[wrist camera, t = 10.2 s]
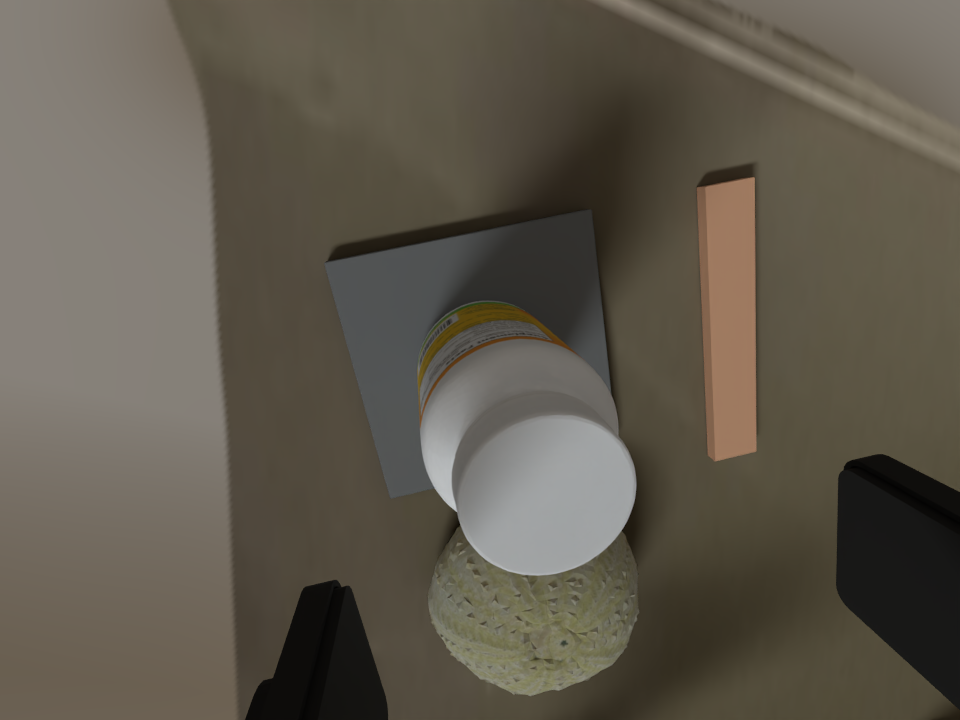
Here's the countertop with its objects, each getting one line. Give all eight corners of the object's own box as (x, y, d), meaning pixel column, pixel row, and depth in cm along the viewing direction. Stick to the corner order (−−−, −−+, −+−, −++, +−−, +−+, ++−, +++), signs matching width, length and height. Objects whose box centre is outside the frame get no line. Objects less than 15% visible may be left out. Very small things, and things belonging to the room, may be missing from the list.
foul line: (748, 445, 23) (756, 451, 23) (707, 455, 23) (715, 461, 23) (744, 177, 20) (754, 177, 19) (696, 187, 20) (705, 186, 19)
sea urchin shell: (479, 459, 20) (656, 615, 16) (555, 450, 27) (692, 557, 23) (374, 632, 22) (510, 809, 18) (470, 581, 28) (584, 701, 24)
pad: (611, 438, 22) (616, 445, 22) (390, 490, 22) (390, 498, 21) (586, 209, 19) (591, 209, 19) (326, 261, 18) (324, 263, 18)
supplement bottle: (554, 418, 21) (667, 582, 12) (425, 435, 20) (438, 622, 11) (548, 290, 19) (674, 364, 10) (408, 305, 19) (407, 399, 10)
